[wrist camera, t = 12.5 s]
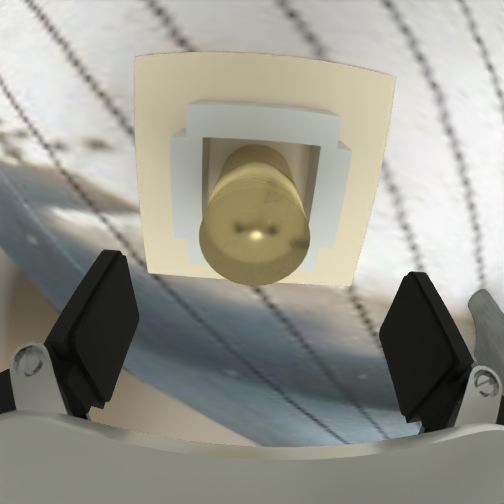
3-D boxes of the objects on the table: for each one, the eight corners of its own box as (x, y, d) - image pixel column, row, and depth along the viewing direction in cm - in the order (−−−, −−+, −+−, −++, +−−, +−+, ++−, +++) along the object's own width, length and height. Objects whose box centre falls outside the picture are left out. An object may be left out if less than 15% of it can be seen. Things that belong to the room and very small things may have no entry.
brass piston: (221, 142, 20) (197, 185, 12) (294, 147, 20) (317, 192, 12) (220, 208, 23) (200, 282, 15) (287, 212, 23) (301, 287, 15)
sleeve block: (140, 56, 17) (116, 54, 14) (390, 76, 18) (415, 78, 14) (151, 266, 27) (138, 294, 24) (348, 279, 27) (358, 308, 24)
